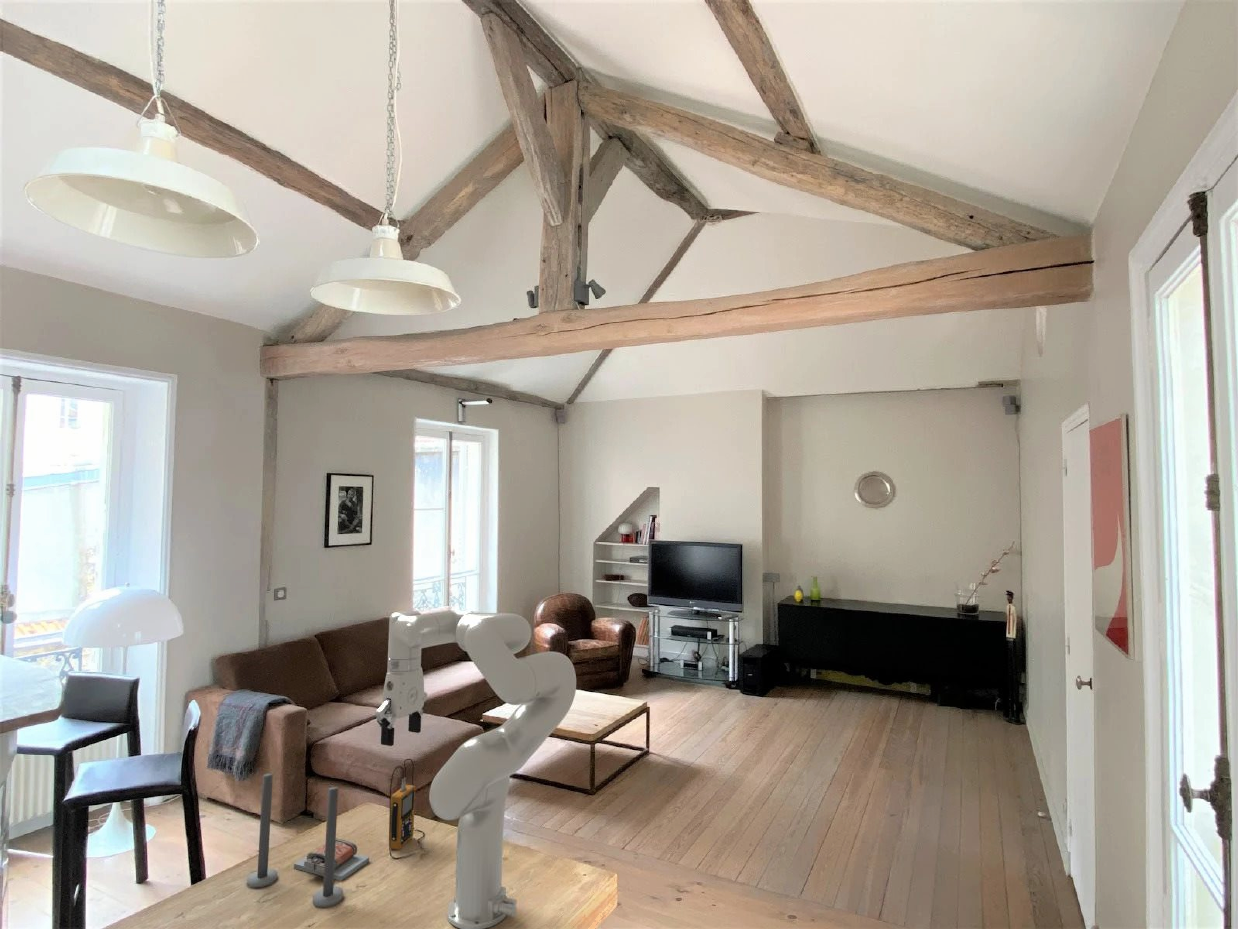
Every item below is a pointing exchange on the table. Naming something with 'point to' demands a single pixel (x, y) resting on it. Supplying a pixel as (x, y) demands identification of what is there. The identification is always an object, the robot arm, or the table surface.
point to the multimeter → (402, 815)
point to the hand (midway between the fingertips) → (401, 738)
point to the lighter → (342, 853)
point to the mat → (342, 869)
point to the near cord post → (329, 857)
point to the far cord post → (264, 839)
